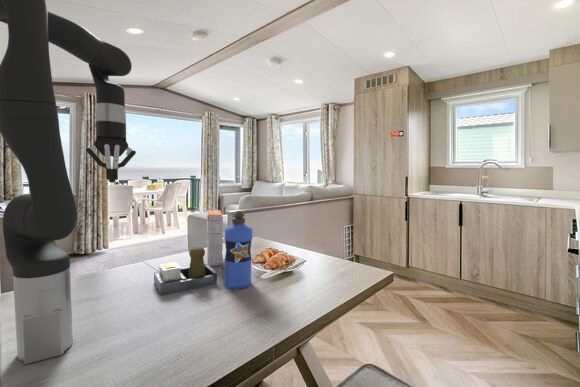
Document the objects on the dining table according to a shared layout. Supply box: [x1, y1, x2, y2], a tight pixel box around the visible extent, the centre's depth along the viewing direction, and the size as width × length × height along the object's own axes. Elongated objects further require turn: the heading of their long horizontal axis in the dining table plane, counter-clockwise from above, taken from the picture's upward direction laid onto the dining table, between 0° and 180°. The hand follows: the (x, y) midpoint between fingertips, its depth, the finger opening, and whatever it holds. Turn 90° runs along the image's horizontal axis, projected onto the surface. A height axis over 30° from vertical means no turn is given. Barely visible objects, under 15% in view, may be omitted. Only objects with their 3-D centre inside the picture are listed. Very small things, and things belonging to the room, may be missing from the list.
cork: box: [188, 246, 206, 279], centre depth 103 cm, size 6×6×11 cm
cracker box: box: [206, 209, 224, 267], centre depth 125 cm, size 14×6×21 cm, turn 17°
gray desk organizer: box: [153, 262, 218, 296], centre depth 101 cm, size 10×18×7 cm, turn 125°
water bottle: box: [223, 210, 253, 290], centre depth 101 cm, size 9×9×25 cm
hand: (112, 181), depth 87 cm, fingers closed
